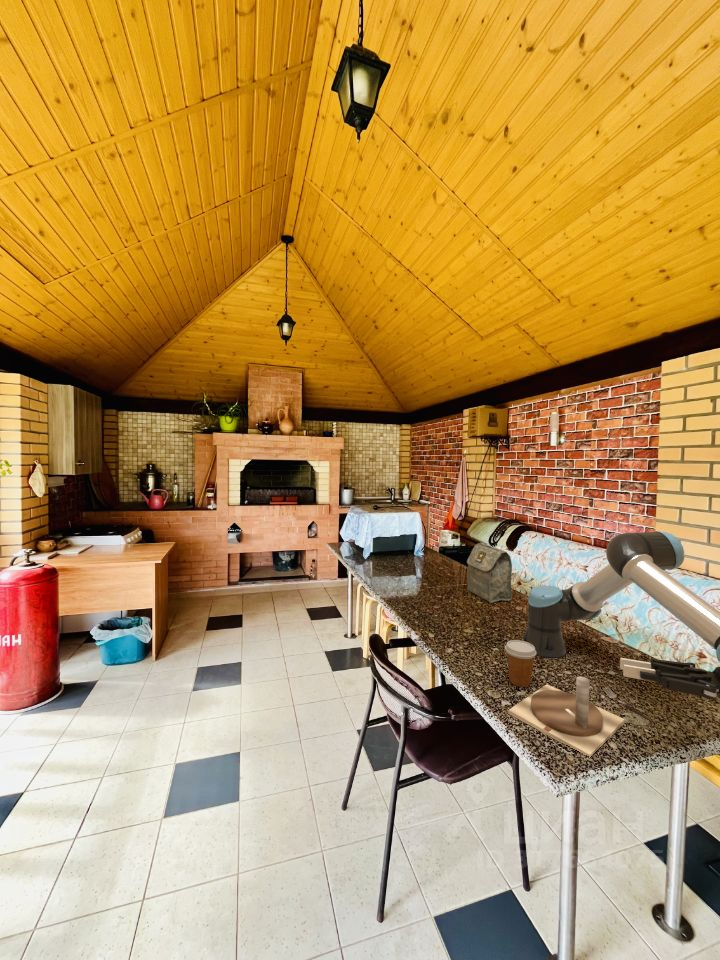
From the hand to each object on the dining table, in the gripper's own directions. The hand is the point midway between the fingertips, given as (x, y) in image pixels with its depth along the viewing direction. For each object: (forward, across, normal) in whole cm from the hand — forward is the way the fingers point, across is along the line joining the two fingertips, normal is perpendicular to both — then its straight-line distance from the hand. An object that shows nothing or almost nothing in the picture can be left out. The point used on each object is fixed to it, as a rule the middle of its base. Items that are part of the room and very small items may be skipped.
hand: (622, 666), depth 102 cm
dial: (+12, +6, -19) cm, 23 cm away
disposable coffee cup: (+24, +21, -20) cm, 38 cm away
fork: (-6, +18, -21) cm, 28 cm away
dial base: (+12, +6, -20) cm, 24 cm away
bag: (+40, +104, -20) cm, 114 cm away
